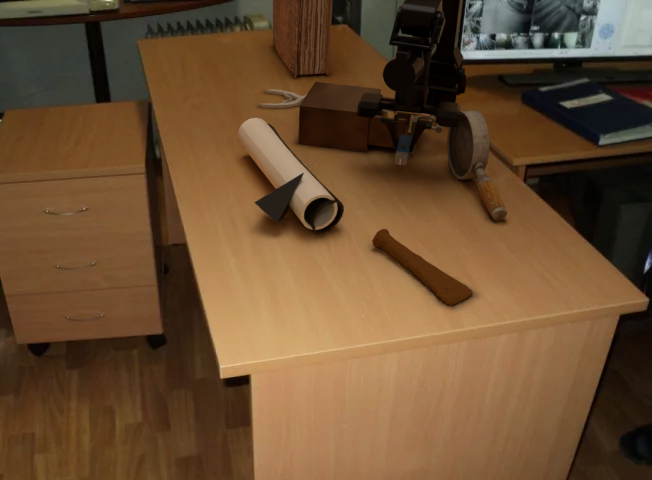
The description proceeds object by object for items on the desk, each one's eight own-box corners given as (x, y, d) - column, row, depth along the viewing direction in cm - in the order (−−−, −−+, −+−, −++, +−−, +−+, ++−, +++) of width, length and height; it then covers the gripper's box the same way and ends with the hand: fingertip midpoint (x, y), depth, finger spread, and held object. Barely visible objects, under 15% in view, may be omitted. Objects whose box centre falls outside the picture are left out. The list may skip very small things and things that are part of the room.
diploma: (256, 166, 154) (205, 137, 146) (281, 130, 151) (231, 98, 143) (322, 253, 127) (265, 222, 119) (355, 210, 124) (298, 177, 116)
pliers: (266, 85, 178) (328, 89, 176) (266, 91, 179) (327, 95, 177) (260, 100, 170) (324, 105, 168) (260, 107, 171) (323, 111, 169)
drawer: (443, 131, 159) (448, 101, 155) (437, 156, 149) (442, 125, 145) (360, 121, 163) (362, 91, 159) (349, 145, 153) (351, 114, 149)
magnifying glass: (519, 188, 124) (473, 96, 139) (503, 190, 124) (457, 97, 139) (497, 239, 135) (456, 147, 150) (481, 240, 134) (442, 148, 149)
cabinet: (377, 126, 163) (380, 88, 158) (366, 152, 152) (369, 113, 147) (313, 118, 166) (315, 81, 161) (298, 143, 155) (299, 105, 150)
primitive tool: (474, 294, 112) (477, 275, 110) (450, 308, 109) (453, 289, 107) (384, 241, 124) (386, 223, 122) (361, 252, 121) (362, 234, 119)
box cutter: (400, 145, 147) (401, 132, 146) (412, 146, 147) (413, 134, 145) (393, 165, 140) (394, 153, 138) (405, 167, 139) (407, 154, 138)
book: (328, 76, 188) (335, -50, 171) (294, 78, 186) (297, -48, 169) (304, 44, 208) (307, -70, 191) (272, 47, 206) (273, -69, 189)
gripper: (468, 64, 138) (455, 140, 147) (370, 54, 142) (363, 128, 151) (463, 84, 129) (450, 164, 138) (359, 73, 133) (353, 151, 142)
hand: (403, 151), depth 143 cm, fingers closed on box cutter, 2 cm apart
